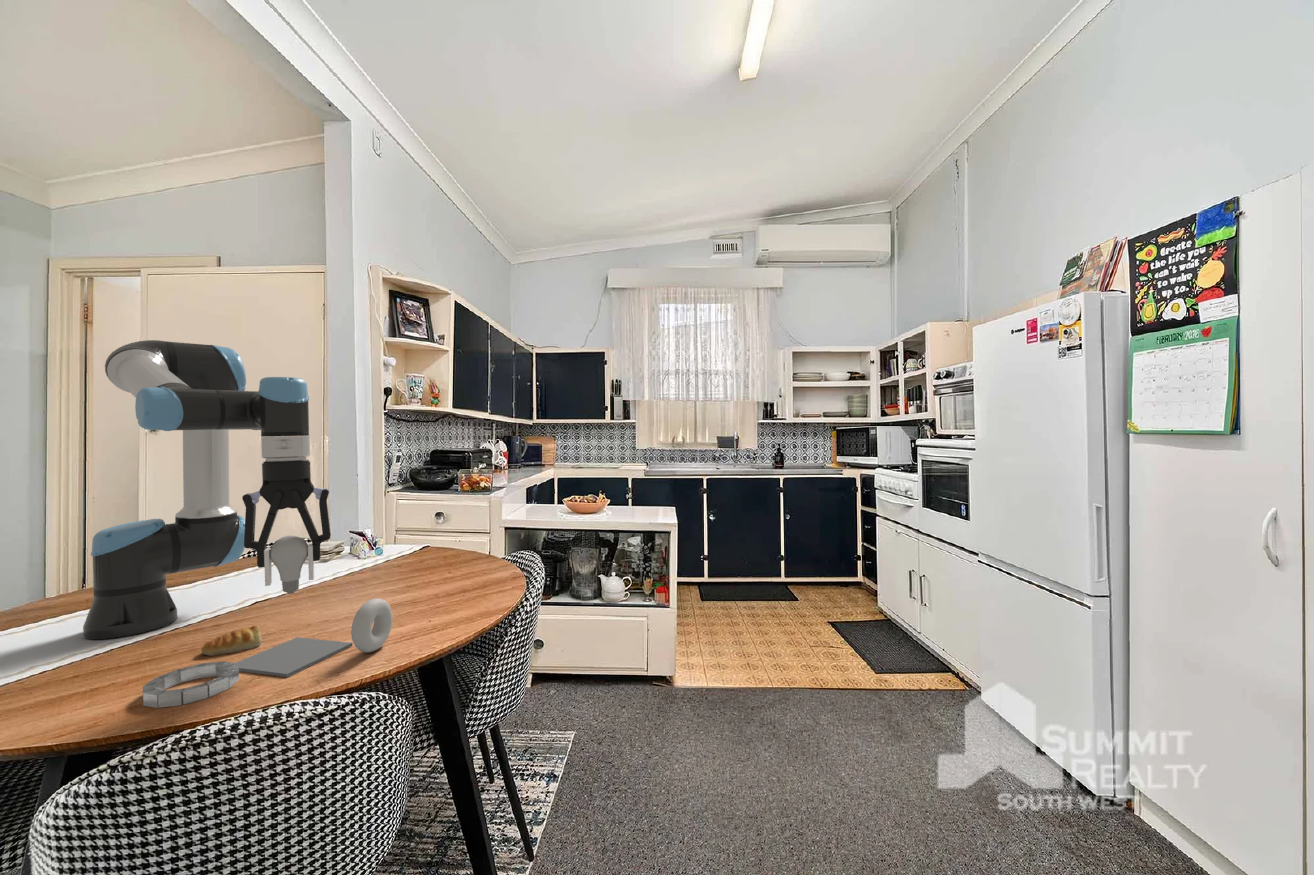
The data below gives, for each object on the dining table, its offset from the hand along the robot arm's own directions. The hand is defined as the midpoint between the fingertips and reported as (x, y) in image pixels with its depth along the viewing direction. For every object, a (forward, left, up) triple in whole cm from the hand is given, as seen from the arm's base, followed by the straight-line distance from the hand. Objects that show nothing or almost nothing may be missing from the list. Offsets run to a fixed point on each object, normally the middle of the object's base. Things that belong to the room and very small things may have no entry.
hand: (290, 580), depth 102 cm
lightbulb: (0, 0, -3) cm, 3 cm away
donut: (+13, +6, -15) cm, 21 cm away
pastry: (-16, +1, -15) cm, 22 cm away
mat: (0, 0, -15) cm, 15 cm away
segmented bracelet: (-5, -14, -15) cm, 21 cm away
